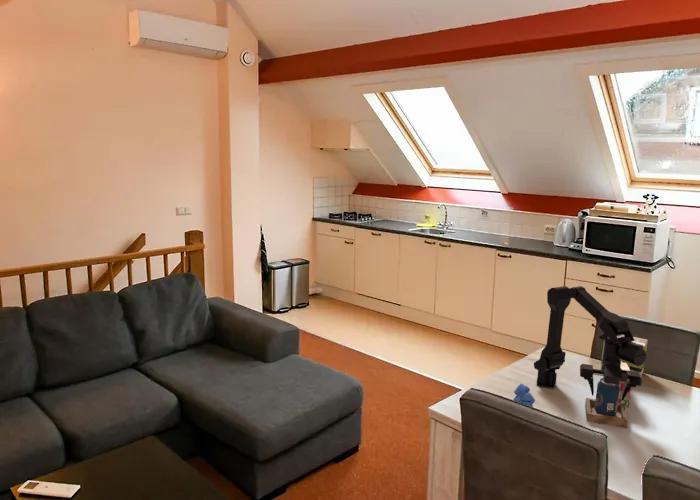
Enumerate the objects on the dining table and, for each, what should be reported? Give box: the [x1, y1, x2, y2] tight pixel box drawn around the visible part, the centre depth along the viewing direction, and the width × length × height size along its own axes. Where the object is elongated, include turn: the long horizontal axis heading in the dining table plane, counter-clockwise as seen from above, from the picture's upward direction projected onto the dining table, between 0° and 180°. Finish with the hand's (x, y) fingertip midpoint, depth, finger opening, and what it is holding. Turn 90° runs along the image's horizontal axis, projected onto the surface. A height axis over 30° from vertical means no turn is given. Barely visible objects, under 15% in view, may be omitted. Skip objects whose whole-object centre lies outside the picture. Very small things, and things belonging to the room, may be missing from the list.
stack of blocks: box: [602, 361, 632, 408], centre depth 203 cm, size 21×6×12 cm, turn 162°
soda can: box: [595, 377, 620, 417], centre depth 186 cm, size 7×7×12 cm
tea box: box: [599, 335, 649, 377], centre depth 222 cm, size 15×10×15 cm
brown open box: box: [584, 397, 629, 429], centre depth 187 cm, size 12×12×3 cm
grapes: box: [513, 383, 536, 408], centre depth 185 cm, size 12×7×12 cm, turn 5°
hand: (607, 397), depth 186 cm, fingers open, 9 cm apart
